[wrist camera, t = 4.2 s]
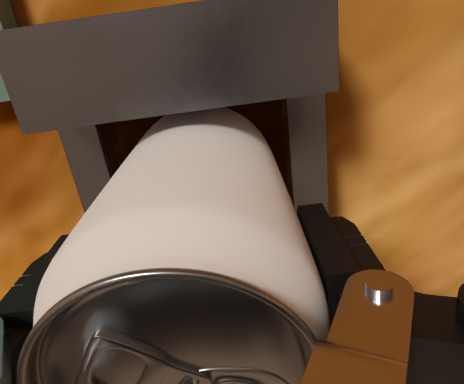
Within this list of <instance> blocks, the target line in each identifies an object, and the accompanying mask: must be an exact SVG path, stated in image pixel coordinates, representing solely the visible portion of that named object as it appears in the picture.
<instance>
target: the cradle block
mask: <svg viewBox="0 0 464 384" xmlns="http://www.w3.org/2000/svg"><path fill="white" fill-rule="evenodd" d="M0 73H1V76H2V79H3V81H4V84H5V87H6V90H7V92H8V95H9V98H10V101H11V103H12V106H13V109H14V112H15V114H16V117H17V120H18V123H19V125H20V128H21V131H22V134H30V133H38V132H45V131H52V130H58V132H59V135H60V138H61V141H62V144H63V147H64V150H65V153H66V156H67V160H68V163H69V166H70V169H71V172H72V175H73V178H74V181H75V184H76V187H77V190H78V193H79V197H80V200H81V203H82V206H83V209H84V212H86V211H87V210H88V208H89V207H90V206H91V204H92V203H93V202H94V200H95V199H96V198H97V196H98V195H99V194H100V192H101V191H102V190H103V188H104V187H105V186H106V184H107V183H108V182H109V180H110V179H111V178H112V176H113V175H114V174H115V172H116V171H117V170H118V168H119V167H120V166H121V164H122V161H121V157H120V153H119V150H118V146H117V142H116V138H115V135H114V131H113V127H112V123H111V122H118V121H126V120H133V119H140V118H148V117H155V116H162V115H170V114H177V113H184V112H192V111H199V110H206V109H214V108H221V107H228V106H236V105H243V104H250V103H258V102H265V101H272V100H280V104H281V117H282V129H283V142H284V155H285V168H286V181H287V191H288V194H289V196H290V199H291V201H292V204H293V206H294V209H295V212H296V214H297V206H300V205H308V204H316V203H322V204H323V205H324V207H325V209H326V211H327V213H328V214H329V203H328V170H327V137H326V104H325V93H331V92H338V91H339V44H338V0H203V1H196V2H189V3H182V4H175V5H168V6H162V7H155V8H148V9H141V10H134V11H127V12H121V13H114V14H107V15H100V16H93V17H86V18H79V19H73V20H66V21H59V22H52V23H45V24H38V25H32V26H25V27H18V28H11V29H4V30H0Z"/></svg>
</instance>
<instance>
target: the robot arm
mask: <svg viewBox="0 0 464 384" xmlns="http://www.w3.org/2000/svg"><path fill="white" fill-rule="evenodd" d="M297 217H298V219H299V222H300V224H301V227H302V230H303V232H304V235H305V237H306V240H307V243H308V245H309V248H310V251H311V253H312V256H313V259H314V261H315V264H316V267H317V269H318V272H319V275H320V278H321V281H322V284H323V287H324V291H325V295H326V299H327V304H328V309H329V334H328V337H327V340H326V341H325V340H321V339H319V340H318V341H317V342H316V344H315V346H314V349H313V351H312V354H311V357H310V359H309V362H308V365H307V368H306V370H305V373H304V376H303V378H302V381H301V384H464V284H462V285H461V287H460V288H459V291H458V297H457V298H456V297H446V296H436V295H428V294H422V293H418V292H414V290H413V287H412V286H411V284H410V283H409V282H408V281H407V280H406V279H404V278H403V277H401V276H399V275H397V274H395V273H392V272H389V271H386V270H385V269H384V267H383V266H382V264H381V263H380V261H379V260H378V258H377V257H376V255H375V254H374V252H373V251H372V249H371V248H370V246H369V245H368V244H367V243H366V240H365V239H364V237H363V236H361V233H360V231H359V230H358V228H357V227H356V225H355V224H354V223H352V222H351V221H349V220H347V219H345V218H344V217H342V216H340V217H332V218H330V216H329V214H328V213H327V211H326V209H325V207H324V205H323V204H322V203H316V204H308V205H300V206H297ZM68 236H69V234H67V235H62V236H61V237H60V238H59V239H58V240H57V241H56V243H55V244H54V245H53V247H52V248H51V249H50V250H49V252H48V253H45V254H44V255H42V256H41V257H40V258H38V259H37V260H36V261H34V262H33V263H31V265H30V266H29V267H28V268H27V269H26V271H25V272H24V273H23V274H22V277H20V278H19V279H18V280H17V282H16V283H15V284H14V285H15V286H14V287H12V288H11V289H10V290H9V291H8V293H7V294H6V295H5V296H4V298H3V299H2V300H1V301H0V384H17V365H18V360H19V356H20V352H21V349H22V347H23V344H24V342H25V340H26V338H27V336H28V335H29V333H30V331H31V330H32V328H33V315H34V306H35V300H36V295H37V291H38V288H39V285H40V283H41V280H42V278H43V276H44V274H45V272H46V270H47V268H48V266H49V264H50V262H51V261H52V259H53V257H54V256H55V254H56V253H57V251H58V250H59V248H60V247H61V246H62V244H63V243H64V241H65V240H66V238H67V237H68Z"/></svg>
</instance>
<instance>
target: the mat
mask: <svg viewBox="0 0 464 384" xmlns="http://www.w3.org/2000/svg"><path fill="white" fill-rule="evenodd" d="M11 28H18V24H17V21H16V18H15V15H14V12H13V9H12V6H11V3H10V0H0V30H4V29H11ZM4 101H10V98H9V95H8V92H7V90H6V87H5V84H4V81H3V79H2V76H1V73H0V102H4Z"/></svg>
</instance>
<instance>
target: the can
mask: <svg viewBox="0 0 464 384" xmlns="http://www.w3.org/2000/svg"><path fill="white" fill-rule="evenodd" d="M328 334H329V309H328V304H327V299H326V295H325V291H324V287H323V284H322V281H321V278H320V275H319V272H318V269H317V267H316V264H315V261H314V259H313V256H312V253H311V251H310V248H309V245H308V243H307V240H306V237H305V235H304V232H303V230H302V227H301V224H300V222H299V219H298V217H297V214H296V212H295V209H294V206H293V204H292V201H291V199H290V196H289V194H288V191H287V189H286V186H285V183H284V181H283V178H282V176H281V173H280V171H279V168H278V166H277V163H276V161H275V158H274V156H273V154H272V151H271V149H270V147H269V145H268V143H267V141H266V139H265V138H264V136H263V135H262V133H261V132H260V131H259V129H258V128H257V127H256V126H255V125H254V124H253V123H252V122H251V121H249V120H248V119H247V118H245V117H244V116H242V115H241V114H239V113H237V112H235V111H233V110H231V109H228V108H225V107H221V108H214V109H206V110H199V111H192V112H184V113H177V114H170V115H165V116H163V117H162V118H160V119H159V120H158V121H157V122H156V123H154V124H153V125H152V126H151V128H150V129H149V130H148V131H147V132H146V133H145V135H144V136H143V137H142V138H141V140H140V141H139V142H138V144H137V145H136V146H135V147H134V149H133V150H132V151H131V153H130V154H129V155H128V157H127V158H126V159H125V161H124V162H123V163H122V164H121V166H120V167H119V168H118V170H117V171H116V172H115V174H114V175H113V176H112V178H111V179H110V180H109V182H108V183H107V184H106V186H105V187H104V188H103V190H102V191H101V192H100V194H99V195H98V196H97V198H96V199H95V200H94V202H93V203H92V204H91V206H90V207H89V208H88V210H87V211H86V212H85V214H84V215H83V216H82V218H81V219H80V221H79V222H78V223H77V225H76V226H75V227H74V229H73V230H72V232H71V233H70V234H69V236H68V237H67V238H66V240H65V241H64V243H63V244H62V246H61V247H60V248H59V250H58V251H57V253H56V254H55V256H54V257H53V259H52V261H51V262H50V264H49V266H48V268H47V270H46V272H45V274H44V276H43V278H42V280H41V283H40V285H39V288H38V291H37V295H36V300H35V306H34V315H33V328H32V330H31V331H30V333H29V335H28V336H27V338H26V340H25V342H24V344H23V347H22V349H21V352H20V356H19V360H18V365H17V384H301V381H302V378H303V376H304V373H305V370H306V368H307V365H308V362H309V359H310V357H311V354H312V351H313V349H314V346H315V344H316V342H317V341H318V340H319V339H321V340H325V341H326V340H327V337H328Z"/></svg>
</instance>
